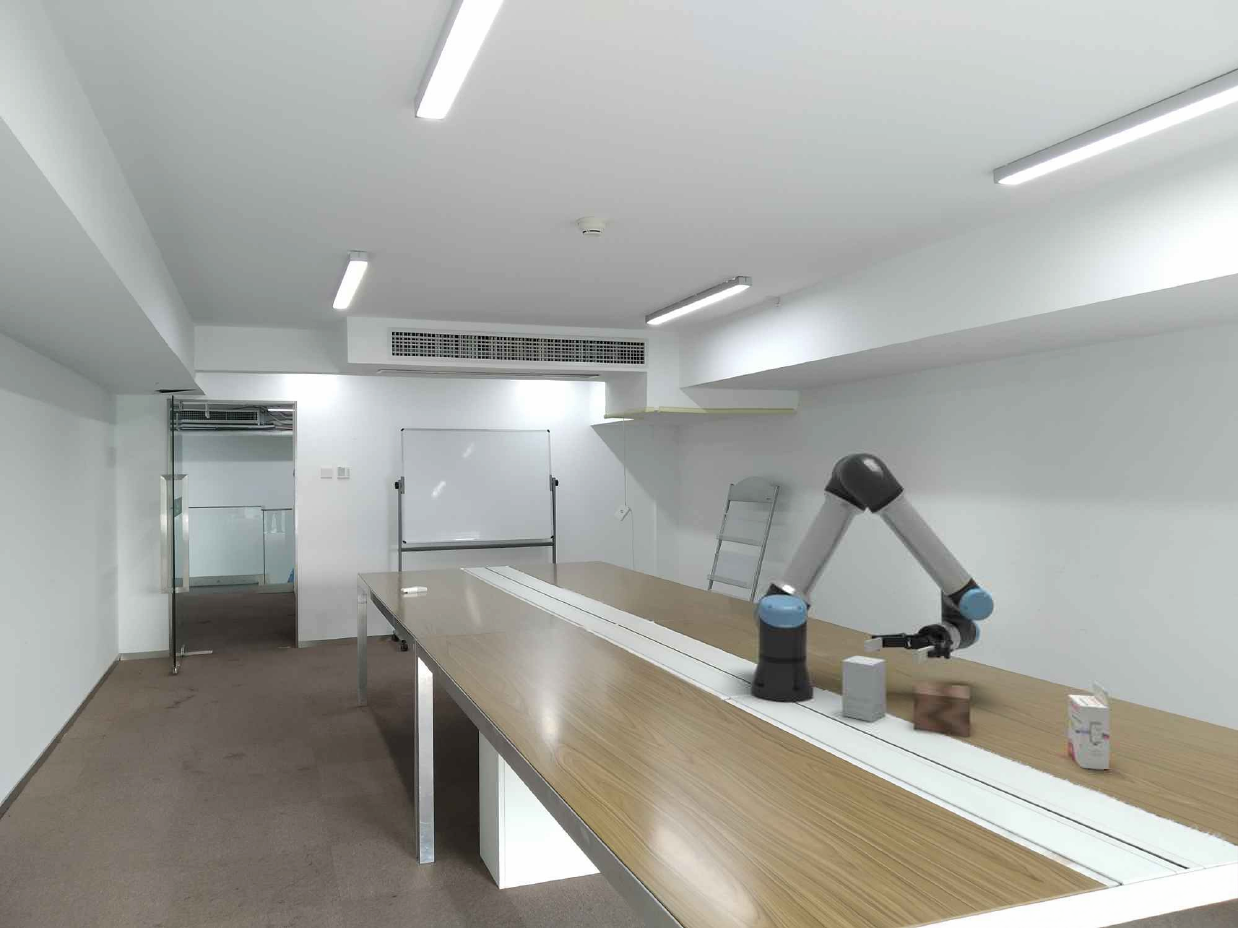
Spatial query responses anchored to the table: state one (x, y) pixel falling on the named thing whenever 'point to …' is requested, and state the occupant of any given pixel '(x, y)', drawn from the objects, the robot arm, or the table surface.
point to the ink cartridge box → (1089, 729)
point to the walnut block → (942, 708)
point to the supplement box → (864, 688)
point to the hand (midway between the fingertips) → (891, 651)
